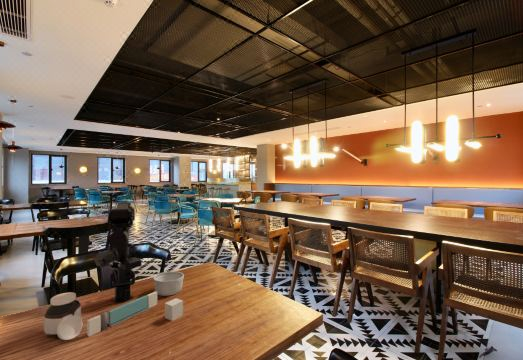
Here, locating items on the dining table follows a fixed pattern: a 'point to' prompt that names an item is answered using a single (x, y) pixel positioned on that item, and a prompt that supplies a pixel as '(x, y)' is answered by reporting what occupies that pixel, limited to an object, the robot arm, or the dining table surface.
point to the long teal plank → (128, 309)
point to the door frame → (99, 321)
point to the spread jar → (63, 317)
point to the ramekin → (168, 283)
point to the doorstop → (173, 309)
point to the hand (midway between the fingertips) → (119, 282)
